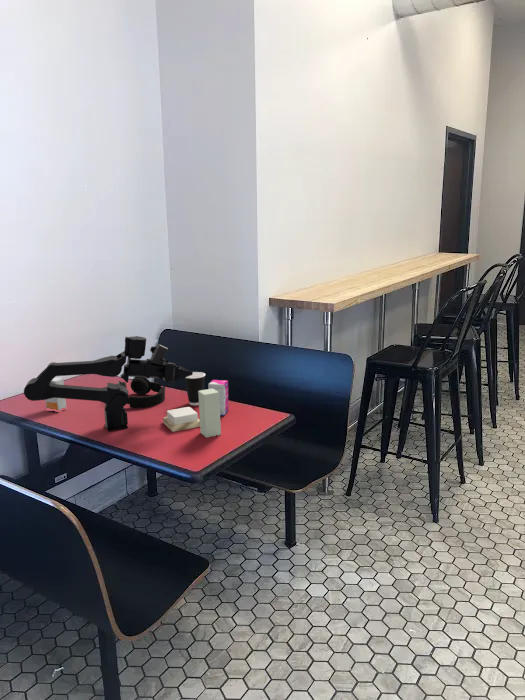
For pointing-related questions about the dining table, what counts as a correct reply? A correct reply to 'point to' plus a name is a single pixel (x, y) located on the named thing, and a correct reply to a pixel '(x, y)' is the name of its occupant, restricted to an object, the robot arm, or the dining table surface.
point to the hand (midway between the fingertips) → (189, 371)
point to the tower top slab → (182, 415)
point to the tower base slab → (180, 425)
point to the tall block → (209, 412)
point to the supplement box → (221, 394)
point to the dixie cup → (194, 386)
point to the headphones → (143, 387)
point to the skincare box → (56, 402)
